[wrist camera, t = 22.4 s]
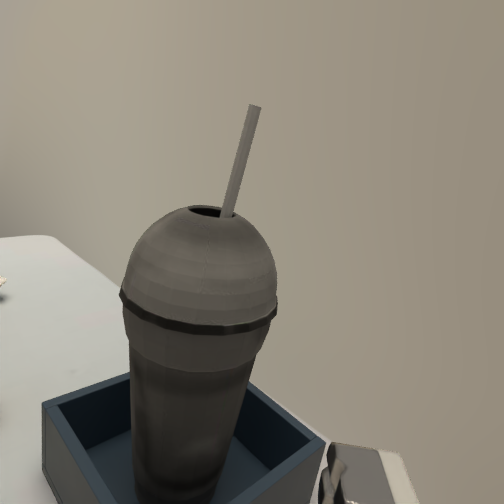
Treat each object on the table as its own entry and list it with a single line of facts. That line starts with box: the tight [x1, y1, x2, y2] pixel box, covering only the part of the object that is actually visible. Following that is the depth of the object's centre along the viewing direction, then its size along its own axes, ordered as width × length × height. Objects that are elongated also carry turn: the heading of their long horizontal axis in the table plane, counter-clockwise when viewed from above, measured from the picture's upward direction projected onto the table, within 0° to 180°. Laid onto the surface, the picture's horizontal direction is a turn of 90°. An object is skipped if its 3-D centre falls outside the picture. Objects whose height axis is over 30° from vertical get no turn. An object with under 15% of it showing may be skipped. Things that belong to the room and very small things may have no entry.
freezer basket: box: [42, 372, 326, 504], centre depth 21 cm, size 11×11×5 cm
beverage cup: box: [119, 104, 278, 504], centre depth 19 cm, size 7×7×20 cm
